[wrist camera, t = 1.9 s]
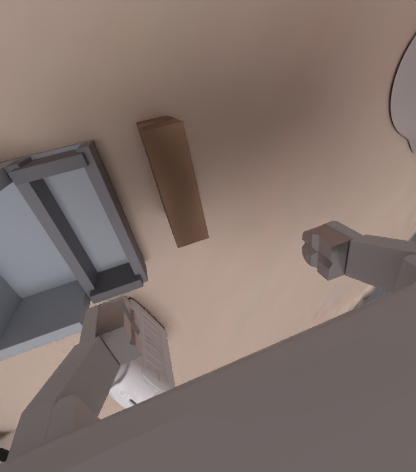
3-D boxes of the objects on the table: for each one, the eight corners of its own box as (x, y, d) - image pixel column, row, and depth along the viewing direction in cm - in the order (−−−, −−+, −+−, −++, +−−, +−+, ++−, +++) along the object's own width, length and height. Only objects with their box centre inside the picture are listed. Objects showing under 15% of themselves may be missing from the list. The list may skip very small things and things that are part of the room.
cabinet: (93, 139, 23) (80, 155, 16) (145, 261, 31) (151, 306, 24) (-87, 184, 20) (-190, 224, 14) (20, 303, 28) (-13, 365, 22)
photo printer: (102, 308, 32) (91, 406, 22) (129, 292, 32) (132, 382, 22) (146, 344, 38) (153, 435, 28) (169, 330, 38) (185, 416, 28)
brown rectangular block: (167, 115, 24) (183, 121, 17) (190, 205, 29) (209, 237, 22) (136, 122, 23) (140, 131, 16) (165, 213, 28) (177, 248, 22)
